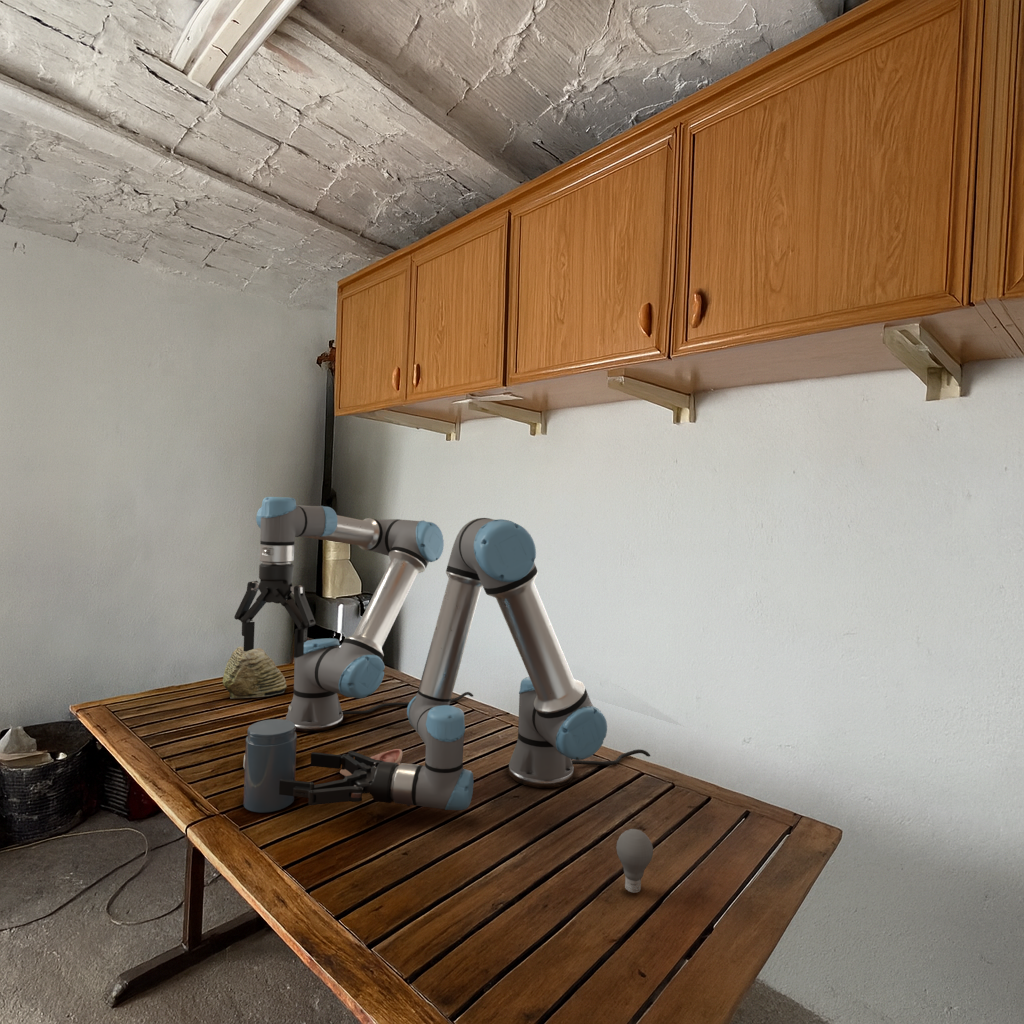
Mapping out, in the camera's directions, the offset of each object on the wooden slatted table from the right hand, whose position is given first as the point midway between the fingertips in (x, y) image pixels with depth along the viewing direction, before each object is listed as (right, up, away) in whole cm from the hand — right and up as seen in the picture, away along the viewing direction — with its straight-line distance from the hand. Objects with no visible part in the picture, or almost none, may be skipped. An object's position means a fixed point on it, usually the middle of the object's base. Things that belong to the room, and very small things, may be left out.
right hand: (296, 772), depth 130 cm
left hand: (-12, +21, +18) cm, 29 cm away
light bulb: (+65, -10, -25) cm, 70 cm away
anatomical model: (+12, -7, +17) cm, 21 cm away
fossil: (-36, -4, +68) cm, 77 cm away
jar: (-6, -6, +1) cm, 9 cm away
